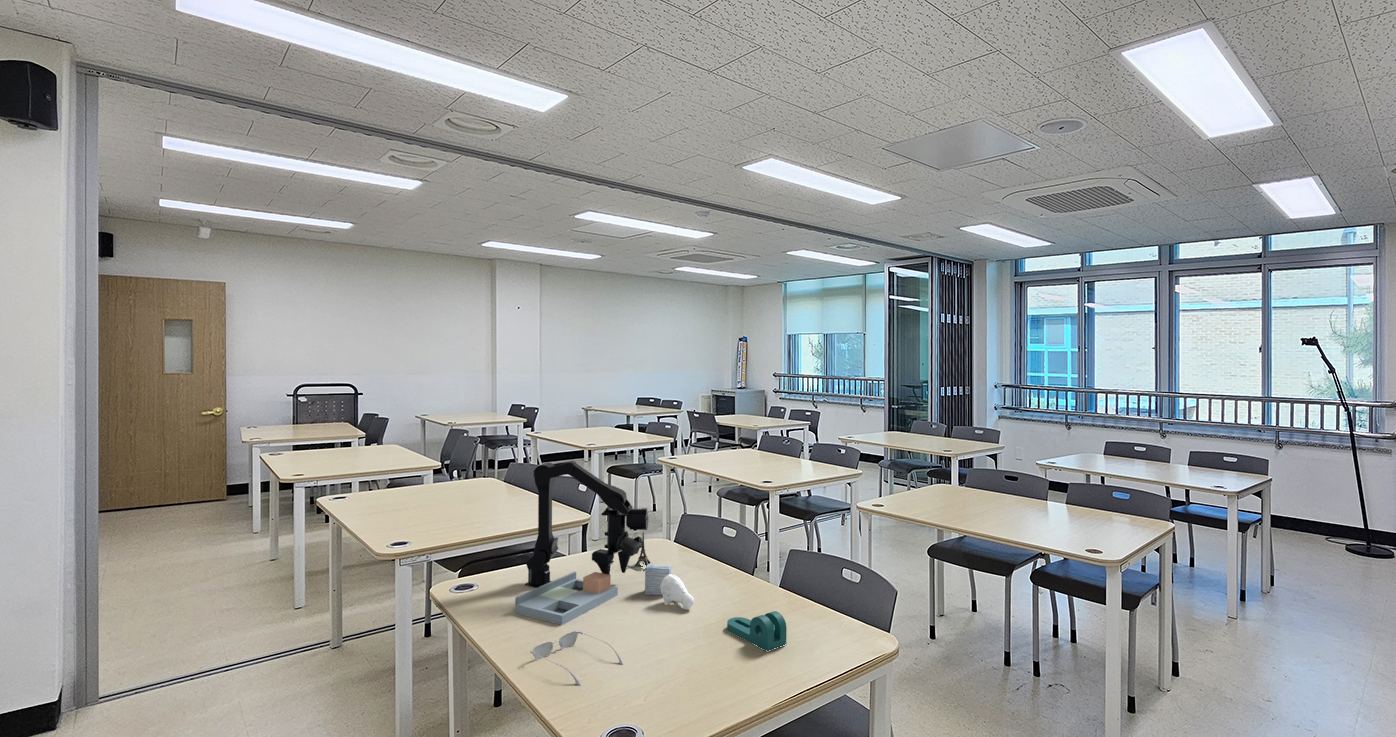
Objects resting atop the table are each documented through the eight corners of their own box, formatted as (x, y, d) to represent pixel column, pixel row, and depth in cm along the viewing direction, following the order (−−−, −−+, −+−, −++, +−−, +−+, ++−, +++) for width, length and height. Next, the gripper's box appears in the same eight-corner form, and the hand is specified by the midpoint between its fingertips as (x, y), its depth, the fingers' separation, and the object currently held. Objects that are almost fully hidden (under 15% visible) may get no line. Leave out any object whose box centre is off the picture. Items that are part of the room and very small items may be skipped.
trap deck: (515, 612, 182) (515, 597, 182) (573, 585, 206) (573, 571, 206) (562, 624, 174) (562, 608, 174) (617, 595, 198) (617, 580, 198)
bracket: (786, 646, 163) (786, 615, 163) (767, 652, 159) (767, 622, 159) (740, 623, 178) (740, 595, 178) (722, 629, 174) (722, 600, 174)
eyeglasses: (578, 643, 164) (579, 628, 164) (627, 665, 152) (627, 648, 152) (529, 664, 152) (529, 648, 152) (577, 689, 140) (577, 671, 140)
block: (583, 590, 194) (583, 577, 195) (594, 584, 200) (595, 571, 200) (598, 593, 192) (599, 580, 192) (610, 587, 197) (610, 574, 197)
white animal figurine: (674, 570, 196) (701, 583, 187) (672, 596, 196) (699, 611, 188) (659, 574, 191) (685, 588, 183) (656, 601, 192) (683, 616, 183)
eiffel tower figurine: (618, 564, 231) (619, 527, 231) (641, 559, 237) (642, 523, 237) (640, 574, 219) (641, 536, 219) (664, 569, 225) (665, 532, 225)
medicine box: (671, 591, 202) (671, 564, 202) (669, 596, 197) (669, 568, 197) (647, 590, 203) (647, 563, 203) (644, 595, 198) (644, 567, 198)
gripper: (620, 538, 193) (619, 589, 193) (652, 525, 209) (651, 572, 209) (591, 533, 198) (590, 583, 198) (624, 521, 214) (623, 567, 214)
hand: (615, 576), depth 205 cm, fingers open, 9 cm apart
